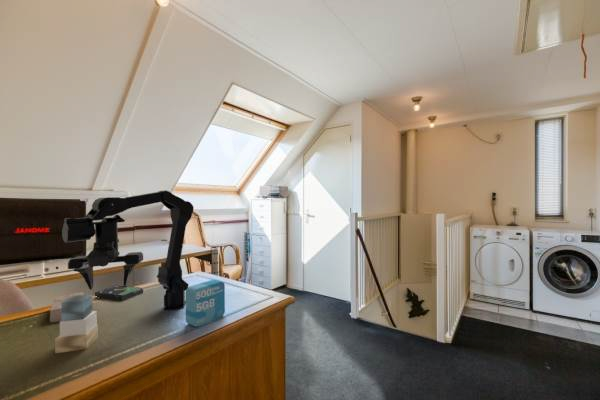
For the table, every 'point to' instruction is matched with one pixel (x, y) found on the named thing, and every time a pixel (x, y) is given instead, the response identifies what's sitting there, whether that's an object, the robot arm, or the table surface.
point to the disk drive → (119, 292)
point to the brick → (59, 306)
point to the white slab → (78, 325)
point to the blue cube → (76, 307)
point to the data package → (205, 302)
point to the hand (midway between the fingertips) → (108, 287)
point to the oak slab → (75, 341)
